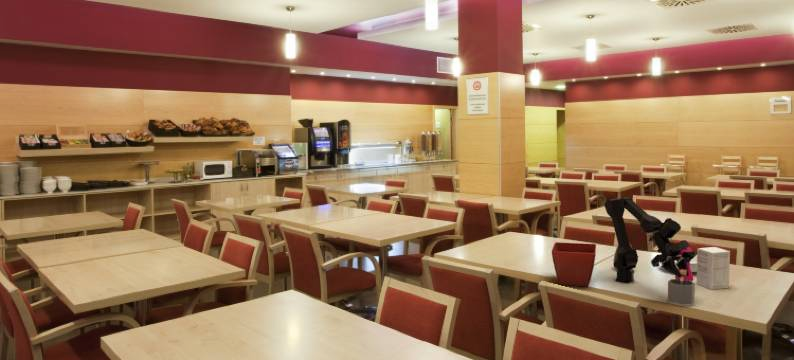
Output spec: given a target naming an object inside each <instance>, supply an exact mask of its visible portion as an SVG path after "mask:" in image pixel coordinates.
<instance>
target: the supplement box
mask: <svg viewBox="0 0 794 360" xmlns="http://www.w3.org/2000/svg"><path fill="white" fill-rule="evenodd" d="M696 251H697V252H696V253H697V254H696V255H697V272H696V285H698V284H699V285H698V286H701V287H703V286H704V287H703V288H706V289H709V290H721V289H729V288H730V266H731V265H730V263H731V262H730V261H731V251H730V250H726V249H724V248H720V247H716V246H712V247H711V246H709V247H701V248H700V247H699V248H697V250H696Z"/></svg>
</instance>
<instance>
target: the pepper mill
mask: <svg viewBox="0 0 794 360" xmlns="http://www.w3.org/2000/svg"><path fill="white" fill-rule="evenodd" d="M685 251H693V250H692V248H691V247H690V246H689V247H688V248H687V250H682V251H681V253H680V254H679V255H681V254H682V253H683V252H685ZM687 267H688V272H689V276H683V280H689V281H691V282H694V275H693V272H691V269H690V261H689V262H688V263H687ZM674 275H675V274H674ZM674 279H680V278H679V277H678V276H676V275H675V276H674Z"/></svg>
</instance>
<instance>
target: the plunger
mask: <svg viewBox="0 0 794 360" xmlns="http://www.w3.org/2000/svg"><path fill="white" fill-rule="evenodd" d="M678 270H679V272H680V274H681V277H680V285H683V276H687V270H686V269H682V268H678Z"/></svg>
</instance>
